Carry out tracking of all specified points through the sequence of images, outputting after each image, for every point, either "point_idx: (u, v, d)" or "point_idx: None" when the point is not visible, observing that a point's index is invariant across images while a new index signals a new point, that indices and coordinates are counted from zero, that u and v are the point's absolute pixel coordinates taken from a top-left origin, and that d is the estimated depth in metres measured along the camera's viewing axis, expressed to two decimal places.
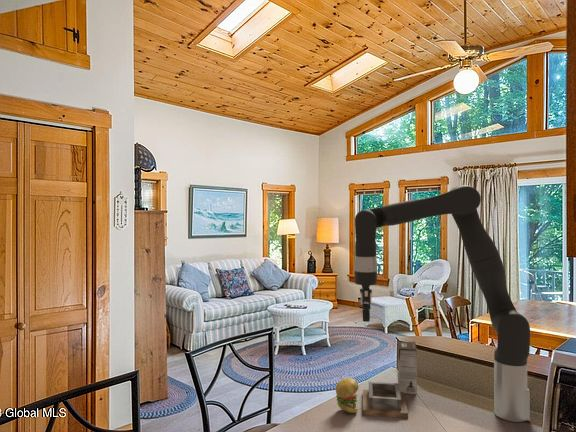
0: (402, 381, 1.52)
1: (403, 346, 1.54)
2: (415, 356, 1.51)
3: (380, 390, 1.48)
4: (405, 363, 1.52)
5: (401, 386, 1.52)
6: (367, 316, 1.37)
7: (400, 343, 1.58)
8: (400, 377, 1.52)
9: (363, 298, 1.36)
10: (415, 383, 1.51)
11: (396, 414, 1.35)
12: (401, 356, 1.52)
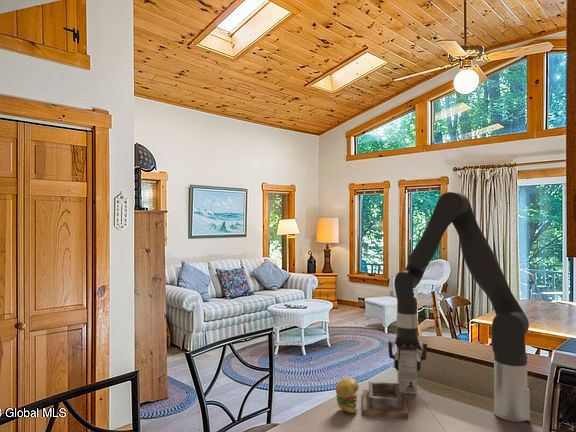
0: (402, 381, 1.52)
1: (403, 346, 1.54)
2: (415, 356, 1.51)
3: (380, 390, 1.48)
4: (405, 363, 1.52)
5: (401, 386, 1.52)
6: None
7: None
8: (400, 377, 1.52)
9: (426, 350, 1.54)
10: (415, 383, 1.51)
11: (396, 414, 1.35)
12: (401, 356, 1.52)
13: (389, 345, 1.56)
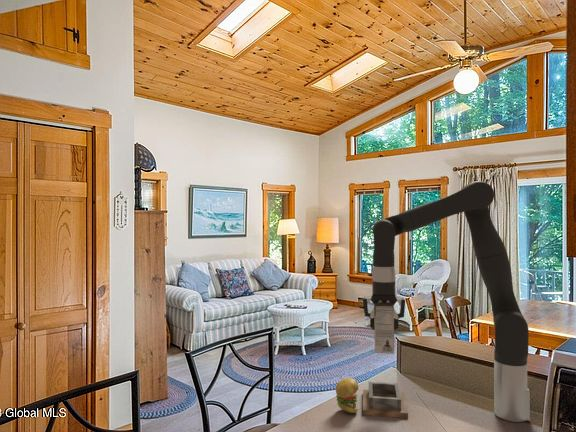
0: (378, 340, 1.39)
1: None
2: (392, 312, 1.38)
3: (380, 390, 1.48)
4: (381, 321, 1.39)
5: (377, 345, 1.39)
6: None
7: None
8: (376, 336, 1.39)
9: (404, 307, 1.41)
10: (392, 342, 1.38)
11: (396, 414, 1.35)
12: (376, 312, 1.39)
13: (364, 302, 1.43)
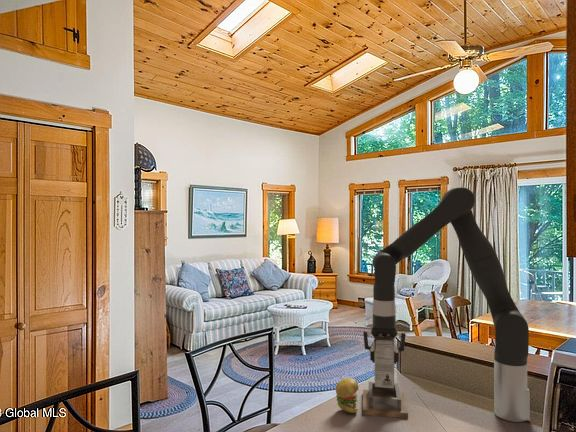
0: (378, 374, 1.39)
1: (380, 336, 1.41)
2: (392, 346, 1.38)
3: (380, 390, 1.48)
4: (381, 355, 1.39)
5: (377, 379, 1.39)
6: None
7: None
8: (376, 369, 1.39)
9: (404, 340, 1.41)
10: (392, 376, 1.38)
11: (396, 414, 1.35)
12: (376, 346, 1.39)
13: (364, 335, 1.43)
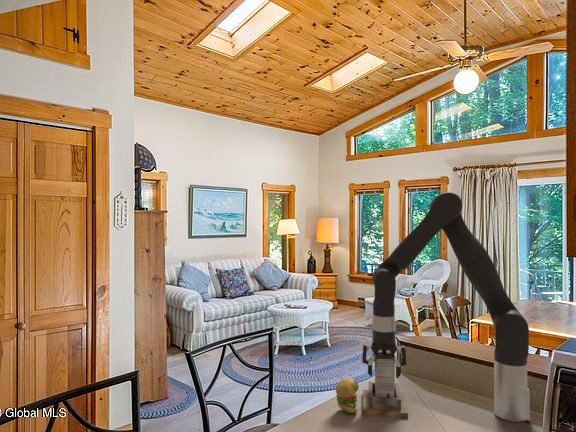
0: (378, 393, 1.39)
1: (380, 354, 1.41)
2: (393, 365, 1.38)
3: None
4: (382, 373, 1.39)
5: None
6: None
7: None
8: (376, 388, 1.39)
9: (405, 354, 1.41)
10: (393, 395, 1.38)
11: (396, 414, 1.35)
12: (377, 365, 1.39)
13: (364, 349, 1.43)
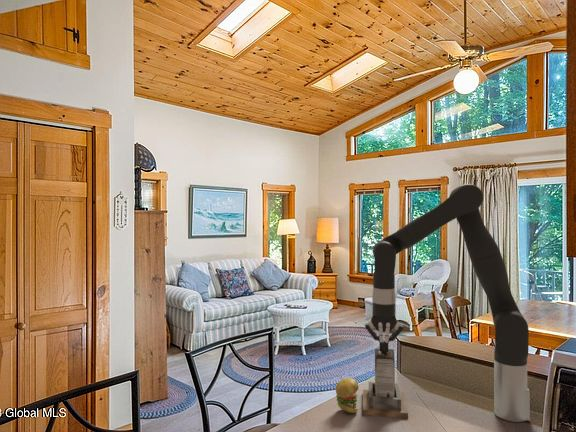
0: (378, 393, 1.39)
1: (380, 354, 1.41)
2: (393, 365, 1.38)
3: None
4: (382, 373, 1.39)
5: None
6: None
7: (377, 351, 1.45)
8: (376, 388, 1.39)
9: None
10: (393, 395, 1.38)
11: (396, 414, 1.35)
12: (377, 365, 1.39)
13: (367, 328, 1.43)
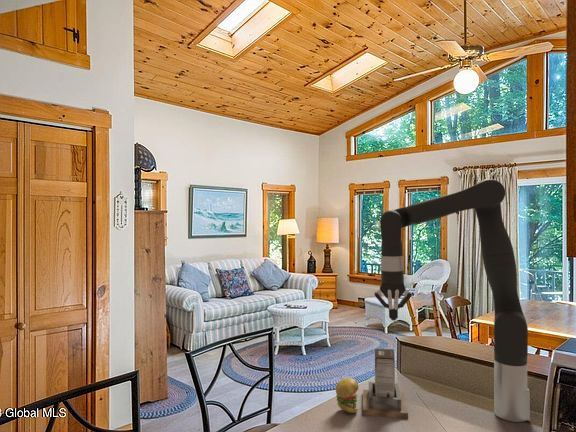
0: (378, 393, 1.39)
1: (380, 354, 1.41)
2: (393, 365, 1.38)
3: None
4: (382, 373, 1.39)
5: None
6: None
7: (377, 351, 1.45)
8: (376, 388, 1.39)
9: None
10: (393, 395, 1.38)
11: (396, 414, 1.35)
12: (377, 365, 1.39)
13: (377, 296, 1.45)
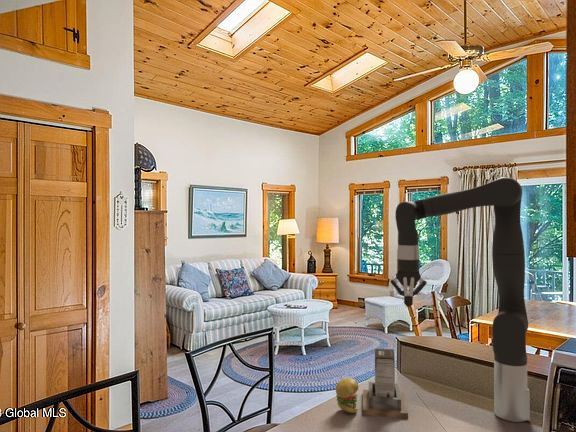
0: (378, 393, 1.39)
1: (380, 354, 1.41)
2: (393, 365, 1.38)
3: None
4: (382, 373, 1.39)
5: None
6: None
7: (377, 351, 1.45)
8: (376, 388, 1.39)
9: None
10: (393, 395, 1.38)
11: (396, 414, 1.35)
12: (377, 365, 1.39)
13: (393, 283, 1.52)
